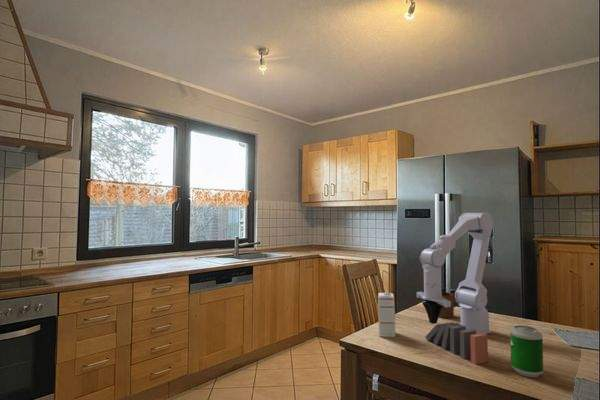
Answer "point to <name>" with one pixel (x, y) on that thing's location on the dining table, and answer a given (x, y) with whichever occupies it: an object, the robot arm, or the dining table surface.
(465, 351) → the domino
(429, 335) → the domino
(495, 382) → the dining table surface
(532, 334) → the soda can
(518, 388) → the dining table surface
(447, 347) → the domino
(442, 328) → the domino
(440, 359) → the dining table surface
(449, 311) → the mug
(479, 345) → the domino
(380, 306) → the syrup box
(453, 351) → the domino
